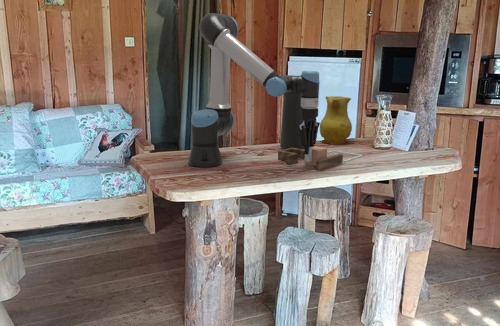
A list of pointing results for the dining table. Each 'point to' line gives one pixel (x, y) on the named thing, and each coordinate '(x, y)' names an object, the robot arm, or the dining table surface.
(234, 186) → the dining table surface
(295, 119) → the tapered dark column
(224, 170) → the dining table surface
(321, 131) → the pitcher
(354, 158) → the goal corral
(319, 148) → the block
